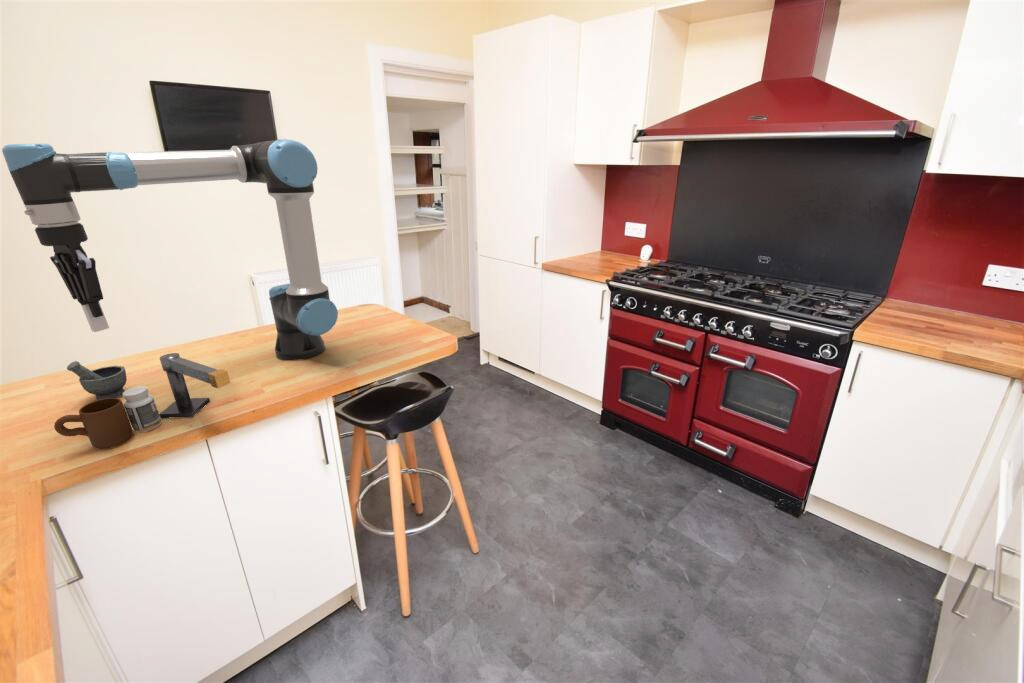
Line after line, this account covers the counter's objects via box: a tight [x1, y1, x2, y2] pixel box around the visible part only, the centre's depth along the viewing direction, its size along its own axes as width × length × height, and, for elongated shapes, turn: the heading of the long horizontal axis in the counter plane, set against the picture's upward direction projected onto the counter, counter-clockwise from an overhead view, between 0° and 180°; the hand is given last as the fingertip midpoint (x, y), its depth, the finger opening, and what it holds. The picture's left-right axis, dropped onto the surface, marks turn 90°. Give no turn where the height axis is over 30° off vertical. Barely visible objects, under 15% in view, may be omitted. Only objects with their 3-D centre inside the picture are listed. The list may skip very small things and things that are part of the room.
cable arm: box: [159, 352, 232, 389], centre depth 111 cm, size 23×4×3 cm, turn 62°
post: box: [159, 371, 211, 419], centre depth 118 cm, size 8×8×12 cm
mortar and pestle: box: [66, 360, 128, 401], centre depth 125 cm, size 11×9×12 cm
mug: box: [53, 397, 134, 450], centre depth 104 cm, size 12×8×9 cm, turn 133°
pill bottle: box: [122, 385, 162, 433], centre depth 111 cm, size 6×6×10 cm
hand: (100, 329), depth 106 cm, fingers closed
